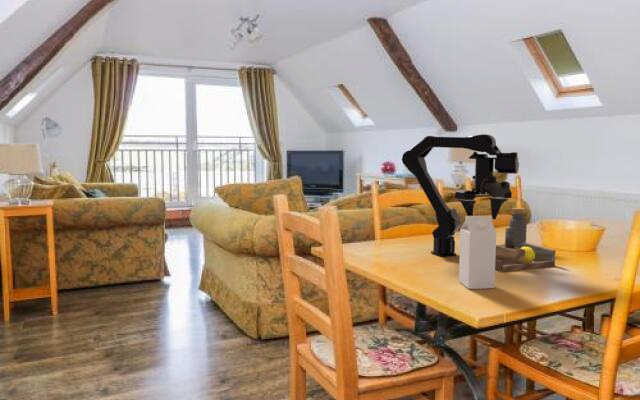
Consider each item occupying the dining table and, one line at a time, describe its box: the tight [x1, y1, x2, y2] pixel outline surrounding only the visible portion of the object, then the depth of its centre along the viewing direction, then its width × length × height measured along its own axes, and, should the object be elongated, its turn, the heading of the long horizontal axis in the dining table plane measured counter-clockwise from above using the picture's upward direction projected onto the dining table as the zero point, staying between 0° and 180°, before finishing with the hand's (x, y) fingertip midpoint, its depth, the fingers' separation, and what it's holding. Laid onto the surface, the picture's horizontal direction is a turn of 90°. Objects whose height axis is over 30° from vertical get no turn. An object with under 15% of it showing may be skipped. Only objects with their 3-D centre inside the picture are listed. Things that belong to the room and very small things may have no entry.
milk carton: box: [458, 215, 497, 290], centre depth 135 cm, size 7×7×19 cm
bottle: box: [508, 207, 528, 248], centre depth 182 cm, size 6×6×15 cm
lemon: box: [521, 247, 535, 263], centre depth 161 cm, size 7×5×5 cm
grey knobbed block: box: [495, 227, 525, 265], centre depth 159 cm, size 4×9×11 cm, turn 20°
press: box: [495, 242, 556, 273], centre depth 160 cm, size 21×13×5 cm, turn 110°
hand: (482, 220), depth 166 cm, fingers open, 9 cm apart
